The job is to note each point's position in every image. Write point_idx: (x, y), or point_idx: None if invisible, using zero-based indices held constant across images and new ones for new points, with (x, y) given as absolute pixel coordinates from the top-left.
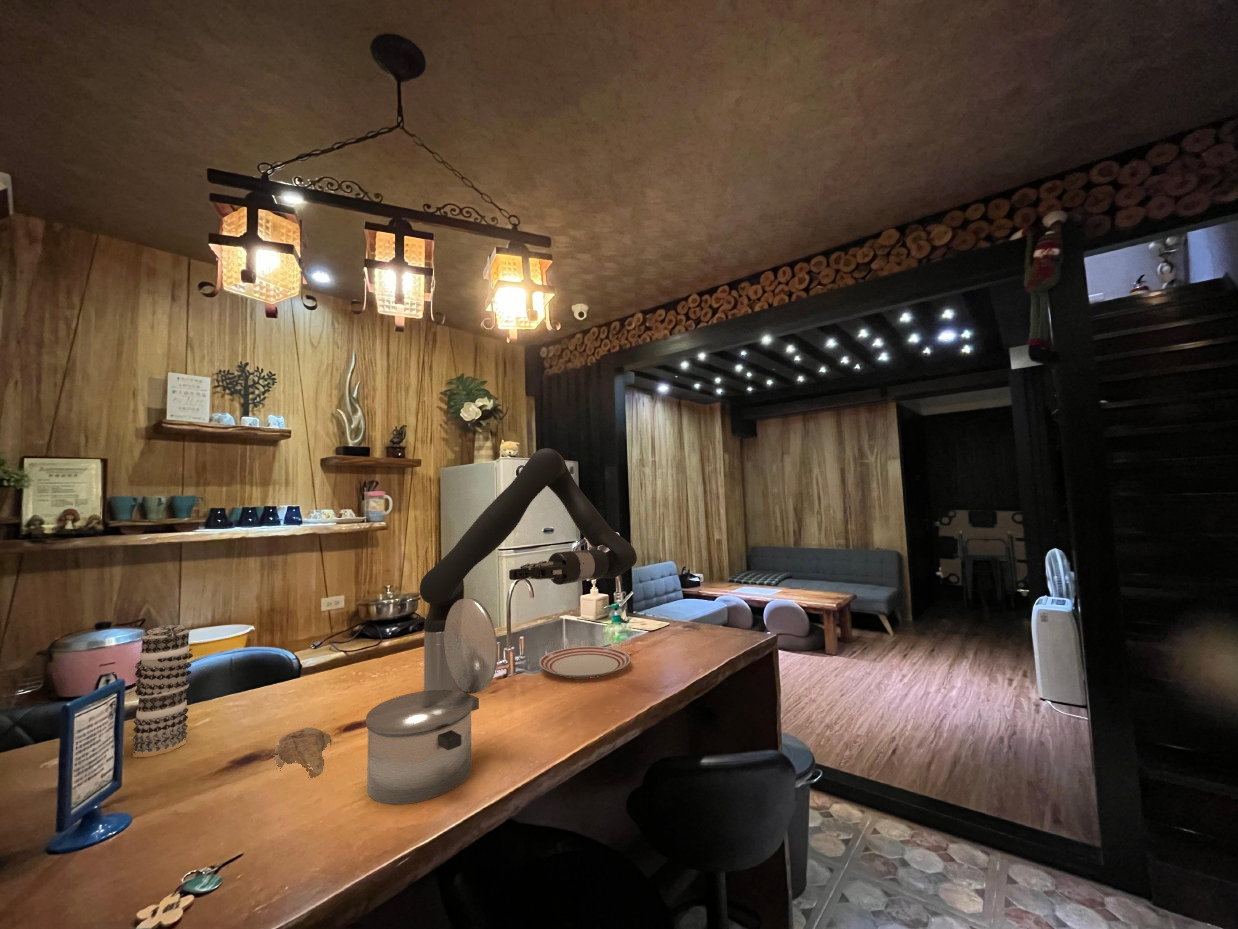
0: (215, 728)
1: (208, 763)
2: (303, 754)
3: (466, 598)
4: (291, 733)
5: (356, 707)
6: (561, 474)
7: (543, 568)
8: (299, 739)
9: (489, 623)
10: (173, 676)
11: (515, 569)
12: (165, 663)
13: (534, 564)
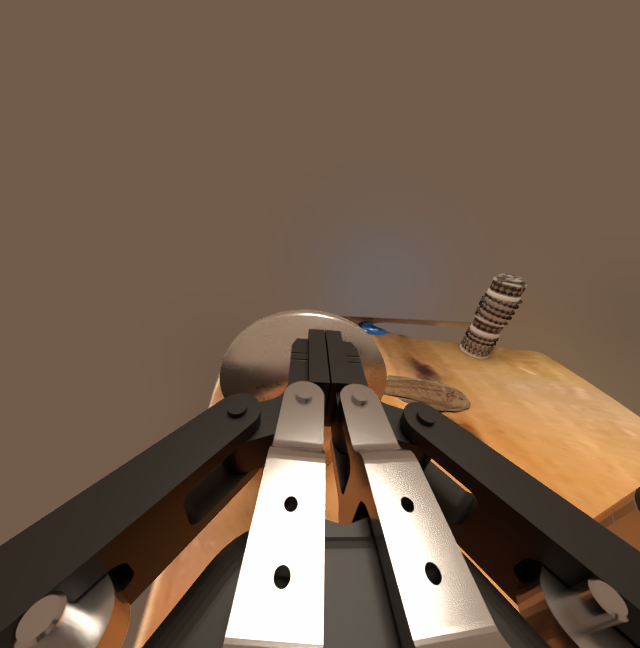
0: (505, 372)
1: (431, 359)
2: (408, 388)
3: (320, 313)
4: (461, 393)
5: (539, 460)
6: None
7: (173, 436)
8: (442, 393)
9: (233, 342)
10: (484, 309)
11: (317, 335)
12: (488, 298)
13: (363, 464)
